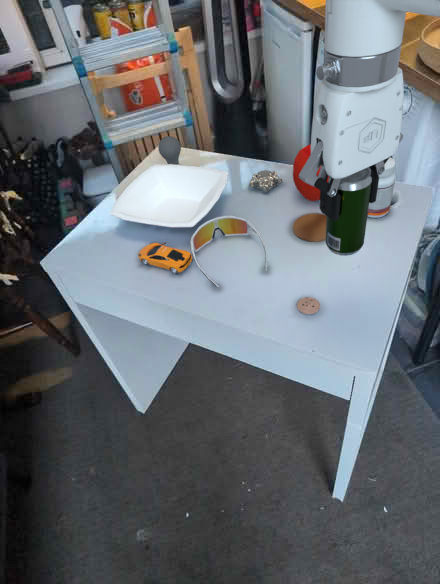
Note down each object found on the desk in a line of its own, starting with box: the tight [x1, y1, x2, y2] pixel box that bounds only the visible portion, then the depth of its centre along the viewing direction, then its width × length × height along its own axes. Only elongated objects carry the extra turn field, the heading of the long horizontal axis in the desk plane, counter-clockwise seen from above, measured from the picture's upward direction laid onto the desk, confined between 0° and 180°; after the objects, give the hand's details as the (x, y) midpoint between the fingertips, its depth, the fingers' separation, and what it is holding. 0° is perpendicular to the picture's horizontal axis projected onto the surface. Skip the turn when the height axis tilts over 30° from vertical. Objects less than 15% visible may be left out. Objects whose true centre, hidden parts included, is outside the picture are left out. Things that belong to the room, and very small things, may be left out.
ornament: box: [248, 169, 283, 192], centre depth 101 cm, size 8×7×4 cm
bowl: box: [109, 163, 229, 228], centre depth 98 cm, size 22×23×6 cm
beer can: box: [324, 167, 372, 257], centre depth 59 cm, size 5×5×12 cm
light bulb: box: [157, 135, 182, 165], centre depth 109 cm, size 6×6×10 cm
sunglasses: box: [190, 215, 268, 288], centre depth 86 cm, size 14×15×5 cm
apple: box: [292, 143, 329, 202], centre depth 93 cm, size 10×10×12 cm
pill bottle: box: [367, 156, 396, 219], centre depth 88 cm, size 6×6×11 cm
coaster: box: [292, 212, 327, 243], centre depth 90 cm, size 9×9×1 cm
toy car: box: [137, 242, 194, 275], centre depth 88 cm, size 6×12×3 cm, turn 61°
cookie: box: [296, 296, 321, 315], centre depth 75 cm, size 4×4×1 cm
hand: (347, 205), depth 58 cm, fingers closed on beer can, 5 cm apart
